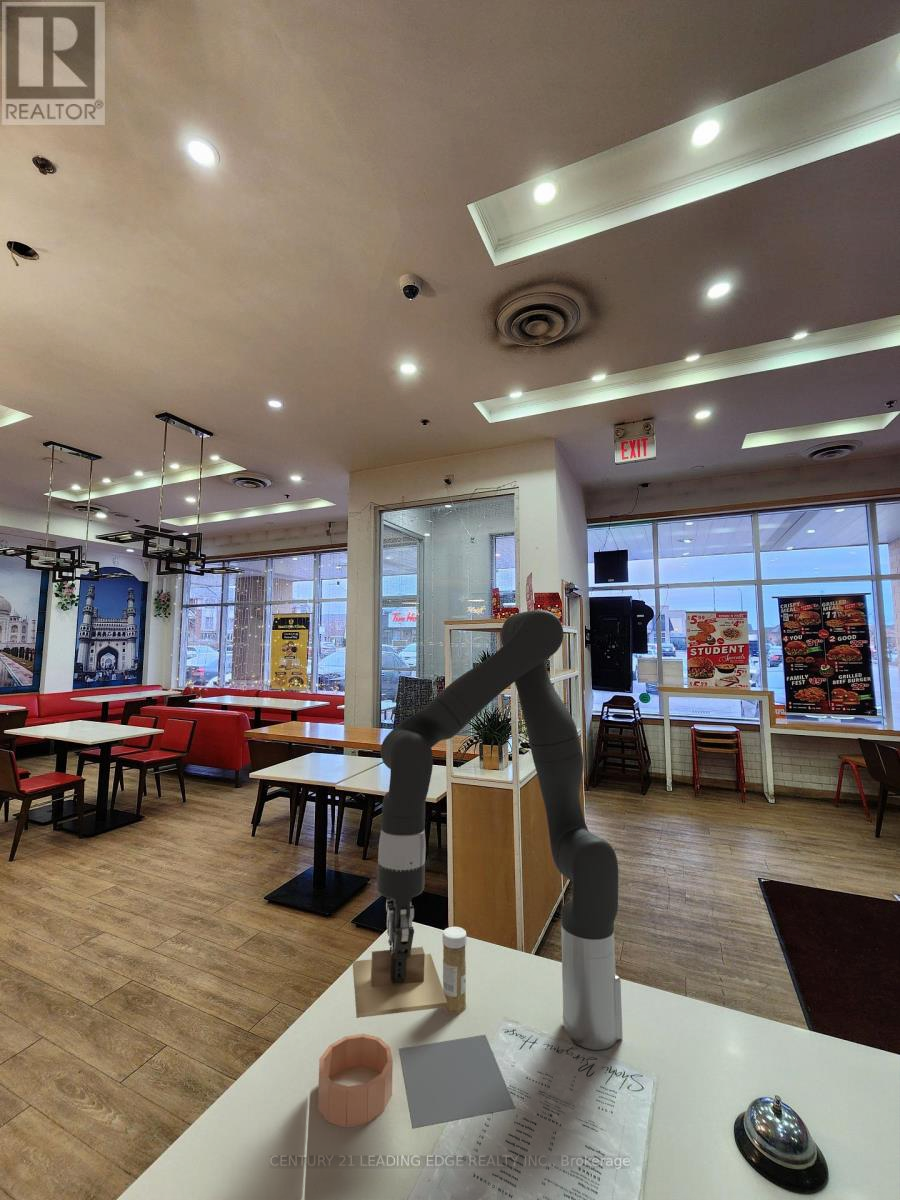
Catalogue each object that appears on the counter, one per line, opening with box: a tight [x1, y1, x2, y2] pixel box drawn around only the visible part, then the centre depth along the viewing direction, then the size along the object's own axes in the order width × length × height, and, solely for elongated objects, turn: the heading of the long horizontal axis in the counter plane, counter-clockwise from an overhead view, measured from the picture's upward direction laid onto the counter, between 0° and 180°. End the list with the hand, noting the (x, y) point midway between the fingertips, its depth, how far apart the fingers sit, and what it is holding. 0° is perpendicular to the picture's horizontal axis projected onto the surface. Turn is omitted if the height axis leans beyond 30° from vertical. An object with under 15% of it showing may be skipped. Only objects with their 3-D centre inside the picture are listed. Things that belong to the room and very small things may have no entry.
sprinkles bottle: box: [442, 926, 467, 1015], centre depth 96 cm, size 5×5×14 cm
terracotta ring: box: [317, 1033, 394, 1128], centre depth 76 cm, size 11×11×5 cm
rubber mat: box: [398, 1034, 516, 1129], centre depth 79 cm, size 15×15×1 cm
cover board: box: [352, 946, 447, 1019], centre depth 79 cm, size 13×13×5 cm
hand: (397, 976), depth 79 cm, fingers closed on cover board
